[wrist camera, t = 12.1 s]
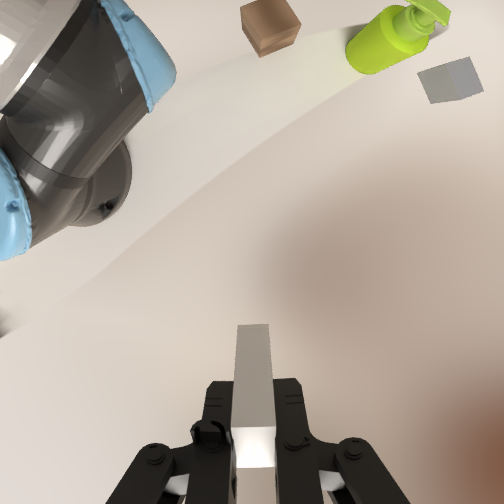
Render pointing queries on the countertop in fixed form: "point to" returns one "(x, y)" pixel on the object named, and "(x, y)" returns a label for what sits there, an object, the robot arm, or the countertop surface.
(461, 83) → the grey rectangular block
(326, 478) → the robot arm
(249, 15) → the brown wooden block
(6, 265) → the countertop surface
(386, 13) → the soap dispenser
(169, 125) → the countertop surface
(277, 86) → the countertop surface
